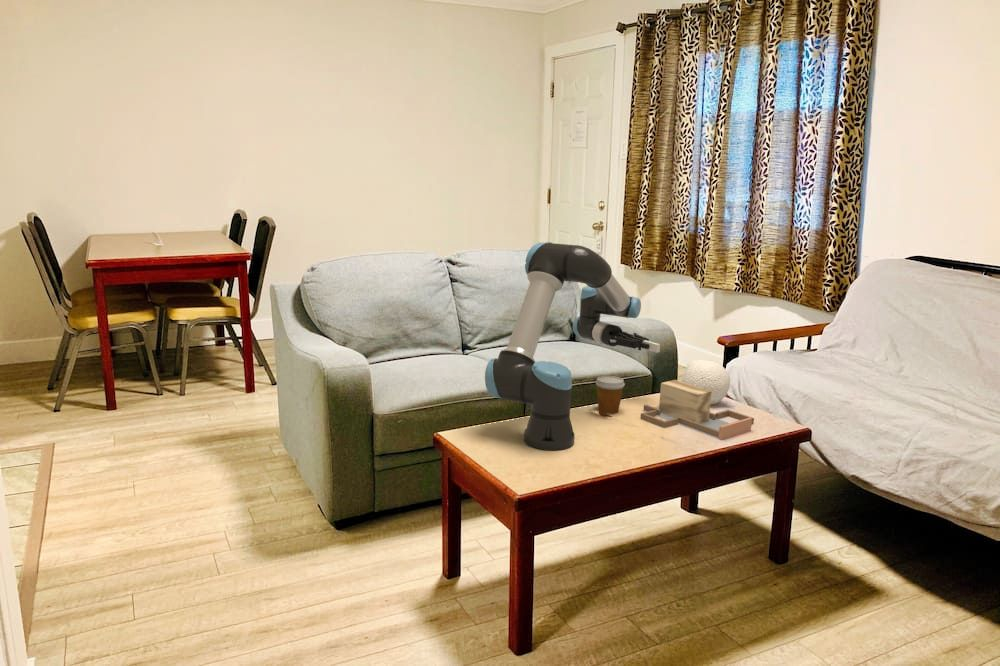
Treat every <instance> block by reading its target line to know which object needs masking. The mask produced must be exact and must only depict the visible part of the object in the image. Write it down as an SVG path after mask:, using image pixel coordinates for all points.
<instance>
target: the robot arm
mask: <svg viewBox="0 0 1000 666" xmlns="http://www.w3.org/2000/svg"><path fill="white" fill-rule="evenodd" d="M524 261H525V264H524V270H525V273H526V275H527V280H528V282H529V284H528V287H527V290H526V294H525V297H524V298H523V301H522V304H521V307H520V311H519V313H518V315H517V318H516V321H515V324H514V327H513V330H512V332H511V336H510V337H509V340H508V343H507V346H506V348H504V349H502V350H500V351H499V354H498V357H497V358H496V357H494V358H491V359H490V360H489V361H488V362H487V364H486V366H485V367H486V368H485V371H484V382H485V383H484V384H485V388H486V391H487V392H488V394H489V395H490V396H491V397H494V398H497V399H500V400H503V401H504V400H505V401H511V402H516V403H520V404H526V405H530V416H529V419H528V422H527V425H526V428H524V432H523V442H524V443H525V444H526V445H528V446H529V447H532V448H534V449H538V450H545V451H558V450H565V449H568V448H571V447H572V446H574V445H575V439H576V437H575V436H576V435H575V432H574V429H573V425H572V424H573V423H572V420H571V403H572V401H571V400H572V388H573V383H572V382H573V381H572V378H573V377H572V372H571V370H570V369H569V368H568V367H567V366H565V365H563V364H561V363H559V362H554V361H546V360H539V361H536V360H535V358H534V356H535V353H536V349H537V348H538V344H539V341H540V338H541V335H542V332H543V330H544V327H545V323H546V321H547V318H548V315H549V313H550V308H551V305H552V303H553V300H554V297H555V294H556V292H558V291H560V290H562V288H563V286H564V284H565V283H564V282H571V283H572V282H573V283H581V284H586V286H583V287H582V288H581V293H580V303H579V316H577V317H576V318H575V319H574V321H573V322H574V323H572V331H573V333H574V334H575V335H576V336H577V337H580V338H582V339H585V340H589V341H593V342H595V343H599V344H600V345H606V346H609V347H616V346H621V347H624V348H630V349H637V351H642V349H643V350H646V351H648V352H649V351H650V352H652V353H656V354H657V353H660V352H661V350H660V349H661V343H658V342H657V343H656V342H653V341H650V338H648V337H645V336H642V335H640V334H637V333H636V332H632V334H631V333H628V331H627V332H626V331H623V330H622V328H621V327H620V326H619V325H616V324H611V323H608V322H604V321H601V315H607V316H614V317H619V318H626V319H629V318H630V319H637V318H638V317H639V315H640V313H641V310H642V309H641V308H642V301H641V299H640V298H639V297H635V296H630V295H629V294H628V293H627V292H626V290H625V289H624V287H623V286H622V285H621V283H620V282H619V281H618V280H617V278H616V277H615V276H614V275H613V274H612V273H613V271H612V268H611V266H610V264H609V263H608V262H607V260H606V259H604V258H603V257H602V255H600V254H599V253H597V252H595V251H593V250H592V249H590V248H588V247H586V246H583V245H579V244H565V243H554V242H550V241H549V242H548V241H546V242H537V243H535V244H533V245H532V246H531V247H530V249H529V250H528V252H527V255H526V257H525V260H524Z"/></svg>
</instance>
